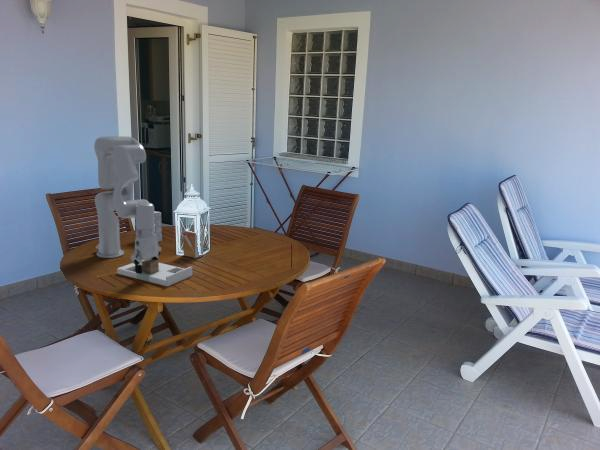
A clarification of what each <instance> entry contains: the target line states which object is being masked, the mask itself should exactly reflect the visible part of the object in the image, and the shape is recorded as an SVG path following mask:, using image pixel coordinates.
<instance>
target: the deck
mask: <svg viewBox="0 0 600 450" xmlns="http://www.w3.org/2000/svg"><path fill="white" fill-rule="evenodd" d="M142 261H144V260H142ZM138 262H139V260H138ZM158 263H159V271H158V272H156V273H153V274H147V273H143V272H142V274H138V273H136V272H135V264H134V263H133V262H131V263H129V264H126V265H123V266H120V267H118V268H117V271H116V272H117V274H118V275H121V276H124V277H129V278H133V279H136V280H137V279H138V280H139V281H140V280H141V281H144V282H149V283H152V284H157V285H160V286H163V287H170V286H172V285H175V284H176V283H179V282H182V281H184V280H185V279H188V278H190V277H192V276H193V266H188V267H186V268H184V267H178V266H176V265H170V264H168V263H167V264H166V263H162V262H158ZM140 265H142V263H141V264H140Z"/></svg>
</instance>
